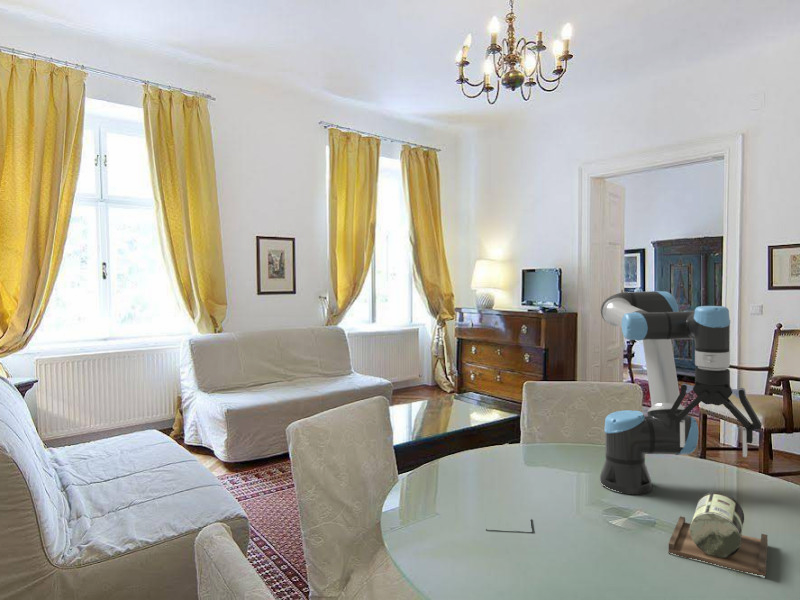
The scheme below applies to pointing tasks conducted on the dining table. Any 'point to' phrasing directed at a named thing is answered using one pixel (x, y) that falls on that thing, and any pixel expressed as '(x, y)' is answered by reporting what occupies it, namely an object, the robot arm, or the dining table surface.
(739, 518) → the coffee can
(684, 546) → the cradle
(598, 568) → the dining table surface
